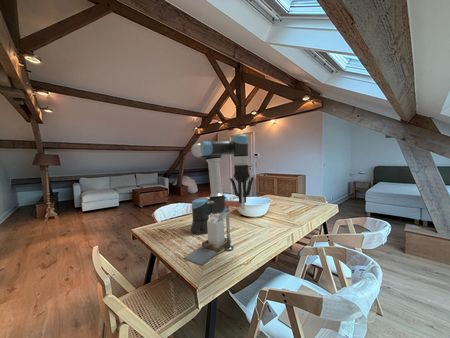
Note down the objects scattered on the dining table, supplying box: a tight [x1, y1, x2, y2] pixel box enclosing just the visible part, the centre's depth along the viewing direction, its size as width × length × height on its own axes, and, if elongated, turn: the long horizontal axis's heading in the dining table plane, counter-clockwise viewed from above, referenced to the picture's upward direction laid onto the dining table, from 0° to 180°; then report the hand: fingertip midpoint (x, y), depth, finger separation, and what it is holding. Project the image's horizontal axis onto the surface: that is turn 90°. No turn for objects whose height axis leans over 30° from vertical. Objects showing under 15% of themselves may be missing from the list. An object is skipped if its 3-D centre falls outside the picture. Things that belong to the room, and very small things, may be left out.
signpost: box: [218, 200, 246, 248], centre depth 99 cm, size 12×12×27 cm
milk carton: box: [207, 213, 226, 246], centre depth 110 cm, size 7×7×19 cm
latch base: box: [224, 245, 235, 252], centre depth 106 cm, size 5×5×1 cm
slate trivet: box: [183, 246, 219, 266], centre depth 100 cm, size 13×13×1 cm
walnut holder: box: [201, 237, 232, 253], centre depth 111 cm, size 12×12×2 cm
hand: (242, 208), depth 98 cm, fingers closed
